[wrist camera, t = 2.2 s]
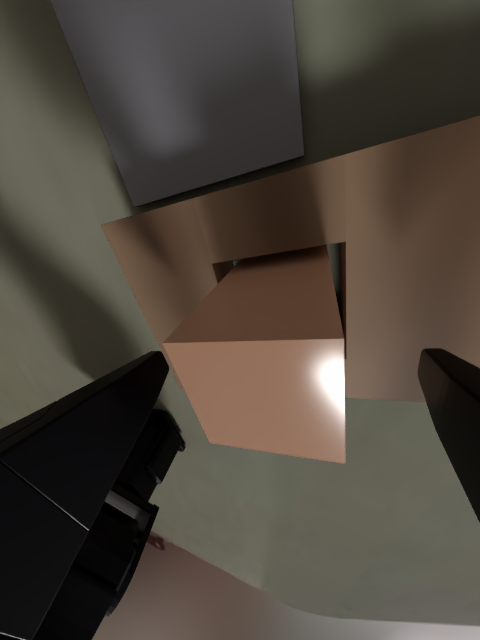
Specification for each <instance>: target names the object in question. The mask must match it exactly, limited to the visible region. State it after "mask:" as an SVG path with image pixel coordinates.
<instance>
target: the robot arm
mask: <svg viewBox="0 0 480 640" xmlns="http://www.w3.org/2000/svg"><path fill="white" fill-rule="evenodd" d="M168 372H169V365H168V363H167V361H166V359H165V357H164V355H163V353H162V352H161V351H151V352H149V353H147V354H145V355H143V356H141V357H139V358H137V359H135V360H134V361H132V362H130V363H128V364H126V365H124V366H122V367H120V368H118V369H116V370H114V371H113V372H111V373H109V374H107V375H105V376H103V377H101V378H99V379H97V380H95V381H93V382H92V383H90V384H88V385H86V386H84V387H82V388H80V389H78V390H76V391H74V392H72V393H70V394H69V395H67V396H65V397H63V398H61V399H59V400H58V401H55V402H53V403H51V404H49V405H47V406H46V407H44V408H42V409H40V410H38V411H36V412H34V413H32V414H30V415H28V416H26V417H24V418H22V419H20V420H18V421H16V422H14V423H12V424H10V425H8V426H6V427H4V428H2V429H0V640H92V638H93V636H94V634H95V633H96V631H97V629H98V627H99V625H100V623H101V622H102V620H103V618H104V616H109V615H110V614H111V613H112V612H113V611H114V609H115V608H116V606H117V605H118V603H119V602H120V600H121V598H122V597H123V595H124V593H125V591H126V589H127V587H128V585H129V583H130V581H131V579H132V577H133V574H134V572H135V570H136V567H137V565H138V562H139V560H140V557H141V554H142V552H143V549H144V547H145V544H146V541H147V539H148V536H149V534H150V531H151V528H152V526H153V523H154V520H155V518H156V515H157V513H158V510H159V507H158V506H156V505H155V504H154V505H152V504H151V503H149V502H148V501H149V499H150V497H151V495H152V493H153V491H154V489H155V487H156V486H157V484H161V482H162V481H163V479H164V477H165V475H166V473H167V471H168V469H169V467H170V465H171V463H172V461H173V459H174V457H175V455H176V453H177V451H181V452H183V451H184V449H185V445H184V443H183V441H182V440H181V438H180V436H179V434H178V433H177V431H176V429H175V427H174V426H173V424H172V422H171V420H170V418H169V417H168V415H167V414H166V413H165V412H164V411H159V410H152V409H153V407H154V405H155V403H156V401H157V399H158V396H159V394H160V391H161V389H162V386H163V384H164V382H165V379H166V377H167V374H168ZM417 374H418V379H419V382H420V385H421V388H422V391H423V394H424V397H425V400H426V403H427V406H428V409H429V412H430V415H431V418H432V421H433V424H434V426H435V429H436V432H437V434H438V436H439V438H440V440H441V443H442V445H443V447H444V449H445V451H446V453H447V455H448V457H449V459H450V461H451V464H452V466H453V468H454V470H455V472H456V474H457V476H458V478H459V480H460V482H461V484H462V487H463V489H464V491H465V493H466V495H467V497H468V499H469V501H470V503H471V505H472V508H473V510H474V512H475V514H476V516H477V518H478V520H479V522H480V368H479V367H477V366H475V365H473V364H471V363H469V362H467V361H465V360H463V359H462V358H460V357H458V356H456V355H454V354H452V353H450V352H448V351H446V350H444V349H442V348H425V349H423V350H422V351H421V355H420V360H419V365H418V371H417ZM105 501H106V502H105ZM107 502H108V503H110V504H111V505H110V504H108V503H107ZM112 505H113V506H115V507H116V508H115V507H113V506H112ZM117 508H118V509H120V510H121V511H120V510H118V509H117ZM122 511H123V512H125V513H126V514H125V513H123V512H122ZM127 514H128V515H130V516H131V517H130V516H128V515H127ZM132 517H133V518H135V519H133V518H132Z"/></svg>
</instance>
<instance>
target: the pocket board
mask: <svg viewBox="0 0 480 640" xmlns="http://www.w3.org/2000/svg"><path fill="white" fill-rule="evenodd" d="M101 227H102V229H103V231H104V233H105V235H106V237H107V239H108V241H109V243H110V245H111V247H112V249H113V251H114V254H115V256H116V258H117V260H118V262H119V264H120V266H121V268H122V270H123V272H124V274H125V276H126V278H127V280H128V282H129V284H130V286H131V289H132V291H133V293H134V295H135V297H136V299H137V301H138V303H139V305H140V307H141V309H142V311H143V313H144V315H145V317H146V319H147V321H148V324H149V326H150V328H151V330H152V332H153V334H154V336H155V338H156V340H157V342H158V344H159V346H160V348H161V350H162V352H163V354H164V356H165V359H166V361H167V363H168V365H169V367H170V369H171V371H172V373H173V375H174V377H175V379H176V381H177V383H178V385H179V387H180V388H183V386H182V383H181V381H180V379H179V377H178V375H177V373H176V371H175V369H174V367H173V365H172V362H171V360H170V358H169V356H168V354H167V352H166V350H165V348H164V346H163V344H162V343H163V342H164V341H165V340H166V339H167V338H168V337H169V336H170V335H171V333H172V332H173V331H174V330H175V329H176V328H177V327H178V326H179V325H180V324H181V323H182V322H183V321H184V320H185V319H186V317H187V316H188V315H189V314H190V313H191V312H192V311H193V310H194V309H195V308H196V307H197V306H198V305H199V304H200V303H201V302H202V300H203V299H204V298H205V297H206V296H207V295H208V294H209V293H210V292H211V291H212V290H213V289H214V288H215V287H216V286H217V285H218V283H219V282H220V281H221V280H222V279H223V278H224V277H225V276H226V275H227V274H228V273H229V272H230V271H231V270H232V269H233V267H234V266H233V262H232V260H237V259H243V258H249V257H255V256H261V255H267V254H273V253H279V252H285V251H292V250H298V249H304V248H310V247H316V246H322V245H328V244H334V243H340V285H341V325H342V330H343V335H344V377H345V398H362V399H379V400H396V401H413V402H426V400H425V397H424V394H423V391H422V388H421V385H420V382H419V379H418V374H417V371H418V365H419V360H420V355H421V351H422V350H423V349H425V348H442V349H444V350H446V351H448V352H450V353H452V354H454V355H456V356H458V357H460V358H462V359H463V360H465V361H467V362H469V363H471V364H473V365H475V366H477V367H479V368H480V116H476V117H473V118H469V119H466V120H462V121H459V122H456V123H452V124H449V125H445V126H442V127H438V128H435V129H431V130H428V131H424V132H421V133H417V134H414V135H410V136H407V137H404V138H400V139H397V140H393V141H390V142H386V143H383V144H379V145H376V146H372V147H369V148H365V149H362V150H358V151H355V152H352V153H348V154H345V155H341V156H338V157H334V158H331V159H327V160H324V161H320V162H317V163H313V164H310V165H306V166H303V167H300V168H296V169H293V170H289V171H286V172H282V173H279V174H275V175H272V176H268V177H265V178H261V179H258V180H254V181H251V182H248V183H244V184H241V185H237V186H234V187H230V188H227V189H223V190H220V191H216V192H213V193H209V194H206V195H203V196H199V197H196V198H192V199H189V200H185V201H182V202H178V203H175V204H171V205H168V206H164V207H161V208H157V209H154V210H151V211H147V212H144V213H140V214H137V215H133V216H130V217H126V218H123V219H119V220H116V221H112V222H109V223H105V224H102V225H101Z"/></svg>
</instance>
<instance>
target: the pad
mask: <svg viewBox="0 0 480 640" xmlns="http://www.w3.org/2000/svg"><path fill="white" fill-rule="evenodd" d="M50 1H51V4H52V6H53V9H54V11H55V14H56V16H57V19H58V21H59V23H60V26H61V28H62V31H63V33H64V36H65V38H66V41H67V43H68V46H69V48H70V51H71V53H72V55H73V58H74V60H75V63H76V65H77V68H78V70H79V73H80V75H81V78H82V80H83V83H84V85H85V87H86V90H87V92H88V95H89V97H90V100H91V102H92V105H93V107H94V110H95V112H96V115H97V117H98V120H99V122H100V124H101V127H102V129H103V132H104V134H105V137H106V139H107V142H108V144H109V147H110V149H111V152H112V154H113V156H114V159H115V161H116V164H117V166H118V169H119V171H120V174H121V176H122V179H123V181H124V184H125V186H126V189H127V191H128V193H129V196H130V198H131V201H132V203H133V206H134V207H138V206H142V205H145V204H148V203H151V202H155V201H158V200H161V199H165V198H168V197H171V196H174V195H178V194H181V193H184V192H188V191H191V190H194V189H197V188H201V187H204V186H207V185H211V184H214V183H217V182H221V181H224V180H227V179H230V178H234V177H237V176H240V175H244V174H247V173H250V172H253V171H257V170H260V169H263V168H267V167H270V166H273V165H276V164H280V163H283V162H286V161H290V160H293V159H296V158H300V157H303V156H304V143H303V129H302V116H301V103H300V90H299V76H298V63H297V50H296V37H295V23H294V10H293V0H50Z"/></svg>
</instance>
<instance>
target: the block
mask: <svg viewBox="0 0 480 640" xmlns="http://www.w3.org/2000/svg"><path fill="white" fill-rule="evenodd" d="M162 344H163V346H164V348H165V350H166V352H167V354H168V356H169V358H170V360H171V362H172V365H173V367H174V369H175V371H176V373H177V375H178V377H179V379H180V381H181V383H182V386H183V388H184V390H185V392H186V394H187V396H188V398H189V400H190V402H191V405H192V407H193V409H194V411H195V413H196V415H197V417H198V419H199V421H200V423H201V426H202V428H203V430H204V432H205V434H206V436H207V438H208V440H209V442H210V443H213V444H220V445H226V446H233V447H239V448H246V449H252V450H259V451H265V452H272V453H278V454H285V455H291V456H298V457H304V458H311V459H317V460H324V461H330V462H337V463H343V464H345V377H344V335H343V330H342V325H341V320H340V314H339V309H338V304H337V298H336V293H335V288H334V282H333V277H332V272H331V266H330V261H329V256H328V251H327V245H322V246H316V247H310V248H304V249H298V250H292V251H285V252H279V253H273V254H267V255H261V256H255V257H249V258H243V259H241V260H240V261H239V262H238V263H237V264H236V265H235V266H234V267H233V269H232V270H231V271H230V272H229V273H228V274H227V275H226V276H225V277H224V278H223V279H222V280H221V281H220V282H219V283H218V285H217V286H216V287H215V288H214V289H213V290H212V291H211V292H210V293H209V294H208V295H207V296H206V297H205V298H204V299H203V300H202V302H201V303H200V304H199V305H198V306H197V307H196V308H195V309H194V310H193V311H192V312H191V313H190V314H189V315H188V316H187V317H186V319H185V320H184V321H183V322H182V323H181V324H180V325H179V326H178V327H177V328H176V329H175V330H174V331H173V332H172V333H171V335H170V336H169V337H168V338H167V339H166V340H165V341H164V342H163V343H162Z"/></svg>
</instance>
